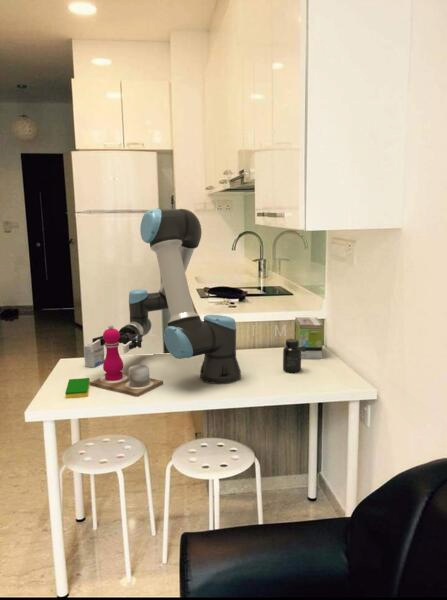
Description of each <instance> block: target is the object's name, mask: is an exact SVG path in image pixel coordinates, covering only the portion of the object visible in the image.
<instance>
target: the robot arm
mask: <svg viewBox="0 0 447 600" xmlns="http://www.w3.org/2000/svg"><path fill="white" fill-rule="evenodd" d="M139 229H140V230H139V231H140V237H141V240H143V242H144V243H146V244H149V248H150V251H152V252H154V253H155V255H156V259H157V263H158V268H159V273H160V277H161V280H162V282H161V285H160V288H159V291H158V292H149V293H148V290H146V289H142V288H141V289H140V288H139V289H131V290H130V291H129V293H128V308H129V311H128V312H129V322H128V323H127V324H126V325H124V326H122V327H121V328H120V329H119V330H118V331H119V333H120V338H119V340H118V341H119V344H123V346H122V347H123V354H127V353H128V352H130V351H131V350H133V349H136V348H139V349H141V348H142V342H143V337H145V336H146V335H147V334H148V333H149V332H150V330H152V322H151V319H150V318H149V312H155V311H165V310H168V313H169V316H170V317H169V319H168V321H167V322H166V323H167V327H166V328H165V329H164V331H163V334H164V335H163V341H164V345H165V347H166V349H167V351H168V352H169V354H170V355H171V356H172V357H174V358H175V359H179V360H181V359H189V358H192V357H197V356H201V355H204V357H203V361H202V365H201V368H200V371H199V373H200V374H199V378H200V380H202V381H203V382H206V383H210V384H219V385H222V384H230V383H231V384H233V383H235V382H237V381H240V380H241V378H242V377H241V376H242V373H241V372H242V371H241V368H240V365H239V361H238V359H237V324H236V320H235V318H233V317H231V316H227V315H220V314H206V315H204V317H203V319H202V320H203V321H202V320H201V316H200V315H199V313H197V312H195V309H194V305H193V301H192V296H191V292H190V289H189V284H188V279H187V275H186V272H187V270H188V266H189V264H190V261H191V258H192V257H193V253H194V250H195V249H197V248H198V247H199V245H200V242H201V239H202V231H203V230H202V225H201V222H200V220H199V218H198V216H197V215H196V214H195V213H194V212H192V211H191V210H189V209H184V208H169V209H168V208H166V209H165V208H163V209H160V208H156V209H148V210H147V211H145V213H144V214H143V216H142V219H141V222H140V227H139ZM91 340H92V342H91V343H92V344H91V343H90V344H91V352H94V351H95V350H97V349H98V348H100V347H101V346H102V345H104V346H105V342H106V341H105V340H104V339H103V335H100V336H97V337H93V338H92V339H91Z"/></svg>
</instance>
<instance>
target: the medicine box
mask: <svg viewBox="0 0 447 600" xmlns="http://www.w3.org/2000/svg"><path fill="white" fill-rule="evenodd" d="M92 343H93V342H91V343H88V344H87V345H83V355H84V366H85V367H86V368H97V367H99V366H100V365H102V364H103V363H104V360H105V358H106V357H105V345H102V346H101V347H100V348H98V349H97V350H95V351H94V352H91V344H92Z"/></svg>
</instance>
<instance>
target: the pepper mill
mask: <svg viewBox="0 0 447 600" xmlns="http://www.w3.org/2000/svg"><path fill="white" fill-rule="evenodd" d="M102 336H103V339H104V340H105V341H106V342H105V345H104V348H105V349H106V354H105V357H104V358H105V360H104V363H102V364H103V365H102V369H103V372H105V374H104V376H105V379H106V380H108V381H116V380H120V379H122V377H123V373H122V372H123V371H122V370H123V369H124V361H123V360H122V358H121V356H120V354H119V347H120V343H119V341H118V340H119V338H120V333H119V330H118V329H116V328H114V325H113V324H109V325H108V327H107V329H105V330H104V332H103V334H102Z"/></svg>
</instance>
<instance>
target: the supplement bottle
mask: <svg viewBox="0 0 447 600" xmlns="http://www.w3.org/2000/svg"><path fill="white" fill-rule="evenodd" d="M298 346H299V341H298V340H296V339H295V338H289V339H286V341H285V346H284V347H283V350H282V370H283V371H284V372H285V373H287V374H297V373H300V372H301V370H302V359H301V349H300V348H299V347H298Z"/></svg>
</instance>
